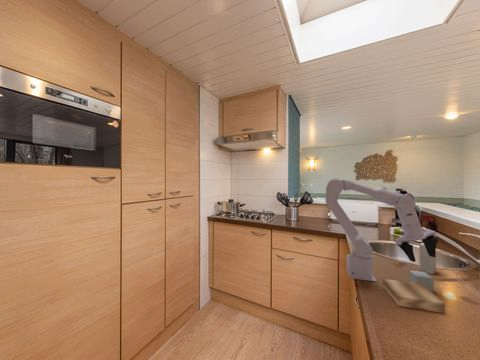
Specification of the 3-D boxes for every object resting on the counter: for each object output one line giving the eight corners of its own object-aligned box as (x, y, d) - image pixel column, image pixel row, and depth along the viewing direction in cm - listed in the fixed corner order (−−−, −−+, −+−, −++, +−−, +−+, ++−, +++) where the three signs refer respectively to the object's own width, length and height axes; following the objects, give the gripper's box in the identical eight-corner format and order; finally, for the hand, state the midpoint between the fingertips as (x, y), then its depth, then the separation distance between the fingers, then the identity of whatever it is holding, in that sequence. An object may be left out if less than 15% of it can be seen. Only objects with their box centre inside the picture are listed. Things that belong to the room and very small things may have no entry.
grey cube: (417, 289, 72) (416, 276, 72) (409, 282, 77) (409, 270, 77) (433, 291, 71) (433, 278, 71) (424, 284, 75) (424, 272, 75)
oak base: (398, 305, 63) (398, 296, 63) (382, 286, 74) (382, 278, 74) (444, 313, 59) (444, 303, 59) (421, 291, 70) (420, 283, 70)
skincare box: (433, 274, 83) (432, 247, 83) (419, 270, 87) (418, 244, 87) (436, 271, 86) (436, 244, 87) (423, 267, 90) (423, 241, 90)
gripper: (399, 229, 72) (412, 266, 70) (438, 220, 71) (452, 257, 70) (386, 227, 79) (397, 260, 77) (422, 219, 78) (434, 252, 77)
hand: (422, 258), depth 74 cm, fingers open, 7 cm apart
